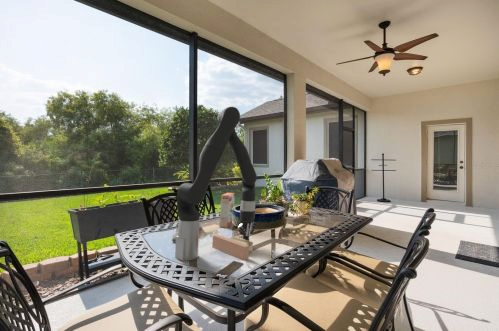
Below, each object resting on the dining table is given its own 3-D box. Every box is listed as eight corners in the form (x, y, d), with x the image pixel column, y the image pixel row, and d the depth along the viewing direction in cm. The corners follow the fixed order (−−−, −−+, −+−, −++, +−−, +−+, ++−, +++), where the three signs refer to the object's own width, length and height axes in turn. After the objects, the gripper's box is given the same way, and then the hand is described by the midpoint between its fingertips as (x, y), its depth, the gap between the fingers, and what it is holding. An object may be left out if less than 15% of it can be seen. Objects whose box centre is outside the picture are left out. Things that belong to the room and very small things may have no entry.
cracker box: (228, 228, 176) (229, 195, 175) (218, 227, 177) (220, 194, 176) (233, 223, 189) (235, 192, 188) (225, 222, 191) (226, 192, 190)
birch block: (244, 255, 131) (244, 244, 131) (226, 248, 139) (227, 238, 139) (252, 252, 136) (252, 242, 136) (235, 245, 144) (235, 236, 144)
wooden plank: (224, 276, 105) (213, 273, 107) (224, 280, 105) (213, 276, 107) (243, 263, 120) (233, 260, 122) (243, 266, 120) (232, 263, 122)
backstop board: (243, 260, 124) (244, 247, 124) (212, 247, 139) (212, 235, 139) (248, 258, 126) (249, 245, 126) (216, 245, 141) (217, 234, 141)
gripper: (250, 206, 148) (249, 238, 149) (233, 209, 138) (231, 243, 139) (261, 209, 143) (259, 242, 144) (244, 212, 133) (242, 247, 134)
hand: (245, 242), depth 141 cm, fingers closed
